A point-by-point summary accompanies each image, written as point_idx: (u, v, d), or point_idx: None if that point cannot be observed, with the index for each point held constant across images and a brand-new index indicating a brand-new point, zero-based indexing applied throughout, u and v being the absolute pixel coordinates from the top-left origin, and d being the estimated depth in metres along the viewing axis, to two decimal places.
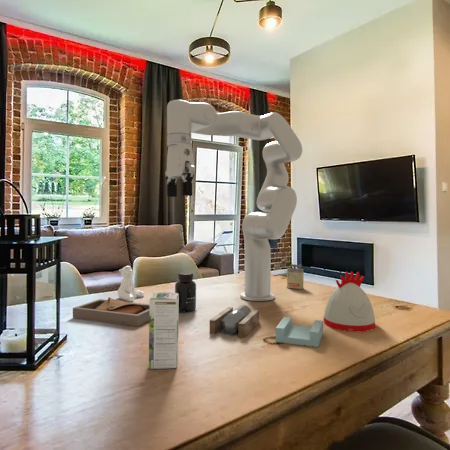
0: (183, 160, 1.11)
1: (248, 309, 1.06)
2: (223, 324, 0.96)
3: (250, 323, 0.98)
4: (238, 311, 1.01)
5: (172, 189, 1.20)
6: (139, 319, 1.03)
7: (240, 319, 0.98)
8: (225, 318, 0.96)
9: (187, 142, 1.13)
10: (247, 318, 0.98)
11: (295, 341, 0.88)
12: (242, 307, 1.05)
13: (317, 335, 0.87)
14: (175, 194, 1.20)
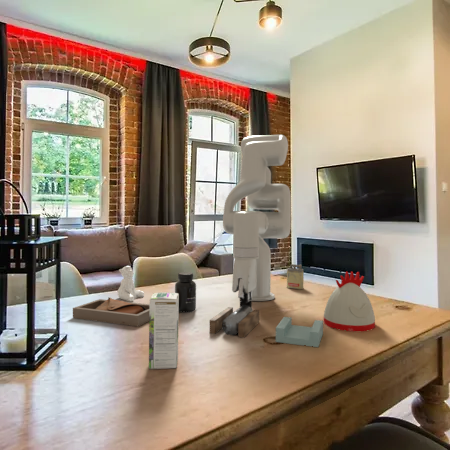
0: None
1: None
2: (226, 323, 0.96)
3: (250, 323, 0.98)
4: (242, 313, 1.01)
5: None
6: (139, 319, 1.03)
7: None
8: (229, 318, 0.95)
9: None
10: (247, 318, 0.98)
11: (295, 341, 0.88)
12: (246, 308, 1.05)
13: (317, 335, 0.87)
14: None
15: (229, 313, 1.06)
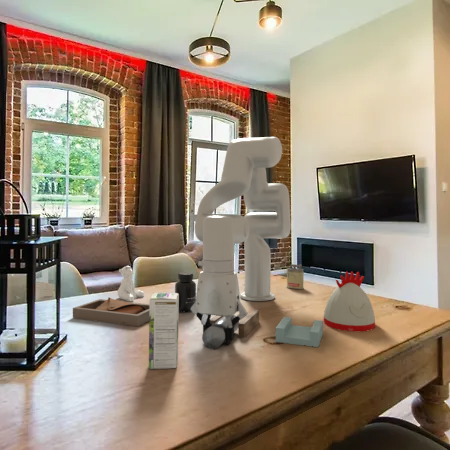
0: None
1: None
2: (206, 337, 0.86)
3: (250, 323, 0.98)
4: (222, 321, 0.91)
5: None
6: (139, 319, 1.03)
7: (224, 330, 0.88)
8: (207, 330, 0.86)
9: None
10: (247, 318, 0.98)
11: (295, 341, 0.88)
12: None
13: (317, 335, 0.87)
14: None
15: None
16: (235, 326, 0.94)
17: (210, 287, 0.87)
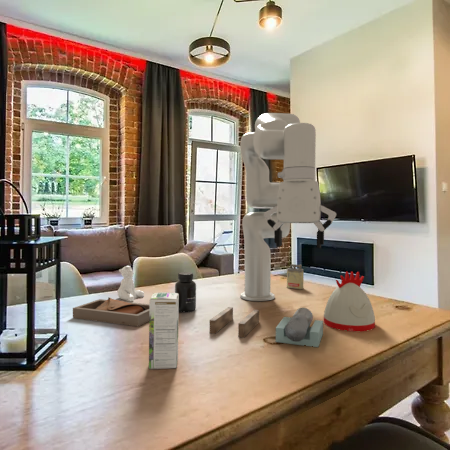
0: None
1: (309, 312, 0.96)
2: (289, 329, 0.87)
3: (250, 323, 0.98)
4: (301, 314, 0.92)
5: None
6: (139, 319, 1.03)
7: (306, 324, 0.88)
8: (291, 323, 0.86)
9: (283, 179, 0.89)
10: (247, 318, 0.98)
11: None
12: (303, 310, 0.96)
13: (317, 335, 0.87)
14: (317, 244, 0.87)
15: (229, 313, 1.06)
16: (311, 320, 0.95)
17: (293, 194, 0.87)
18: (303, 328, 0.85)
